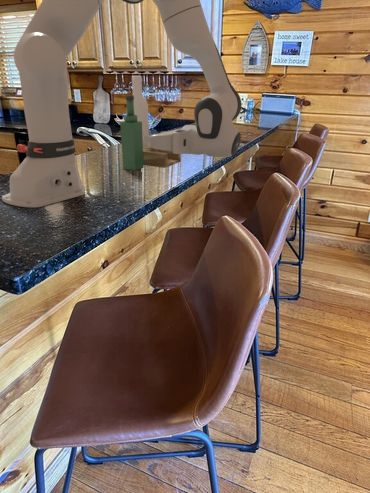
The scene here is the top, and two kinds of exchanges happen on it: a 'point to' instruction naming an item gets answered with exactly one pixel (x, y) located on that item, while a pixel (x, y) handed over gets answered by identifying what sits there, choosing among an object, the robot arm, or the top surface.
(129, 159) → the green bottle
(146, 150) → the oak rest
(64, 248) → the top surface
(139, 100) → the bottle
